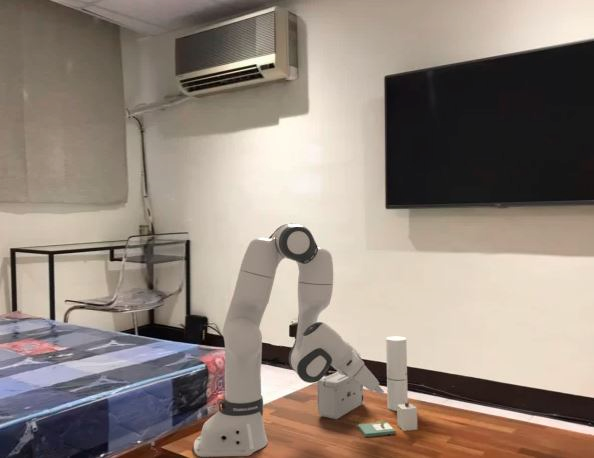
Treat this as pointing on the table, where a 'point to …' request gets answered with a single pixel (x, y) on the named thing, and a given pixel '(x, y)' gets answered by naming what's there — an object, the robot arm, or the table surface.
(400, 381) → the cylindrical container
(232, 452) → the robot arm
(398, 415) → the block
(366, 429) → the header board
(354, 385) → the stereo radio cassette player
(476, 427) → the table surface
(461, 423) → the table surface
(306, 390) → the table surface
